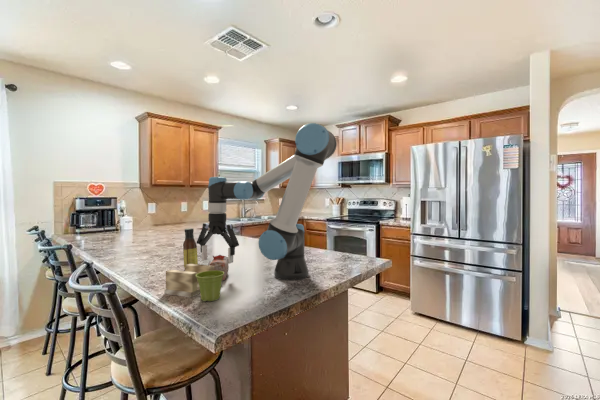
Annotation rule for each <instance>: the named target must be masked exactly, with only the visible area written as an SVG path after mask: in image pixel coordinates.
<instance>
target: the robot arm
mask: <svg viewBox="0 0 600 400" xmlns="http://www.w3.org/2000/svg"><path fill="white" fill-rule="evenodd" d="M294 141H295V147H296V148H295V151H294V154H293V155H292V156H290V157H289V158H287V159H286V160H284V161H283V162H281V163H279V164H278V165H276V166H274V167H273V168H271V169H270V170H268V171H267V172H265V173H264V174H262V175H260V176H259V177H257V178H255V179H254V180H251V182H249V181H246V180H245V181H244V180H240V181H228V180H227V178H226V176H225V177H223V176H210V177H209V178H208V186H207V188H208V206H207V207H208V212H209V213H208V218H207V219H208V222H209V223H208V222H203V223H202V228H201V230H200V232H199V235H198V238H197V239H196V245H200V253H201V261H203V262H204V261H207V260H208V244H207V243H208V242H209V240H210V239H211V237H212V236H213V235H220V236H221V237H222V238H223V239H224V241H225V242H226V244H227V245H228V249H227V251H228V252H227V257H228V265H230V264H233V263H234V256H235V254H236V247H239V246H240V243H239V241H238V240H239V239H238V238H237V236H236V233H235V231H234V225H233V224H231V223H230V224H226V222H227V200H241V201H245V200H259V199H261V198H263V197H264V195H265V194H266V193H267V192H269V191H270V190H273V188H276V187H278V186H279V185H280V184H282V183H284V182H286V181H287V180H288V182H287V185H286V188H285V191H284V194H283V196H282V199H281V202H280V204H279V208H278V210H277V212H276V216H275V218H273V219H270V221H269V224H268V226H267V230H265V231H263V232H262V234H261V235H260V236H259V239H258V248H259V250H260V253H261V254H262V255H263V256H264V257H265V258H266V259H268V260H271V261H277V262H276V264H275V267H274V271H273V272H274V274H273V276H274V278H276V279H278V280H283V281H296V280H303V279H306V278H308V277H309V274H310V273H309V272H310V271H309V268H308V265H307V260H306V259H305V226H304V225H303V224H302V223H298V221H299V218H300V215H301V213H302V210H303V207H304V205H305V202H306V200H307V197H308V194H309V192H310V189H311V186H312V184H313V181H314V178H315V175H316V173H317V171H318V169H319V168H321V167H322V166H324V163H325V161H326V160H328V159H330V158H331V157H332V156H333V155H334V153H335V152H336V150H337V139H336V136H335V135H334V133H332V132H331V131H330V130H328V129H327V128H326V127H325V126H323V125H322V124H319V123H316V122H311V123H309V122H308V123H306V124H304V125H303V126H301V127H300V128H299V129H298V131H297V133H296V134H295V139H294ZM208 229H209V230H208Z"/></svg>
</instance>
